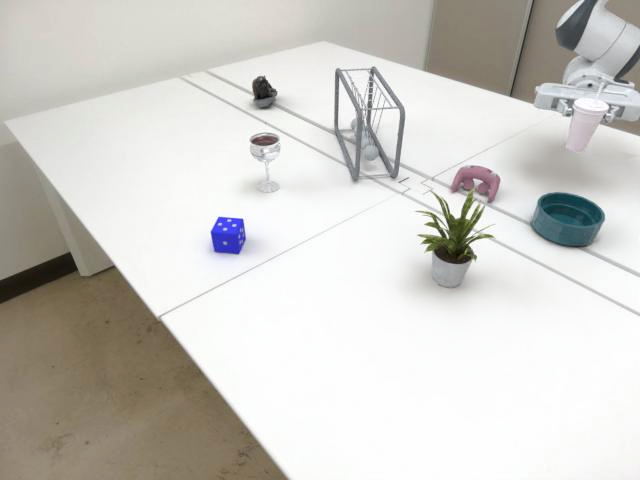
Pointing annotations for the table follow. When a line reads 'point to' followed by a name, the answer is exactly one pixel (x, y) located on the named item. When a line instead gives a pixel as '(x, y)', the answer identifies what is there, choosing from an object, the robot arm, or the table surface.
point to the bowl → (567, 218)
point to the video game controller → (480, 173)
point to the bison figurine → (263, 92)
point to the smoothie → (585, 121)
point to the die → (228, 235)
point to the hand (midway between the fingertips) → (587, 116)
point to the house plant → (453, 243)
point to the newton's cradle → (358, 124)
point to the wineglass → (266, 155)
